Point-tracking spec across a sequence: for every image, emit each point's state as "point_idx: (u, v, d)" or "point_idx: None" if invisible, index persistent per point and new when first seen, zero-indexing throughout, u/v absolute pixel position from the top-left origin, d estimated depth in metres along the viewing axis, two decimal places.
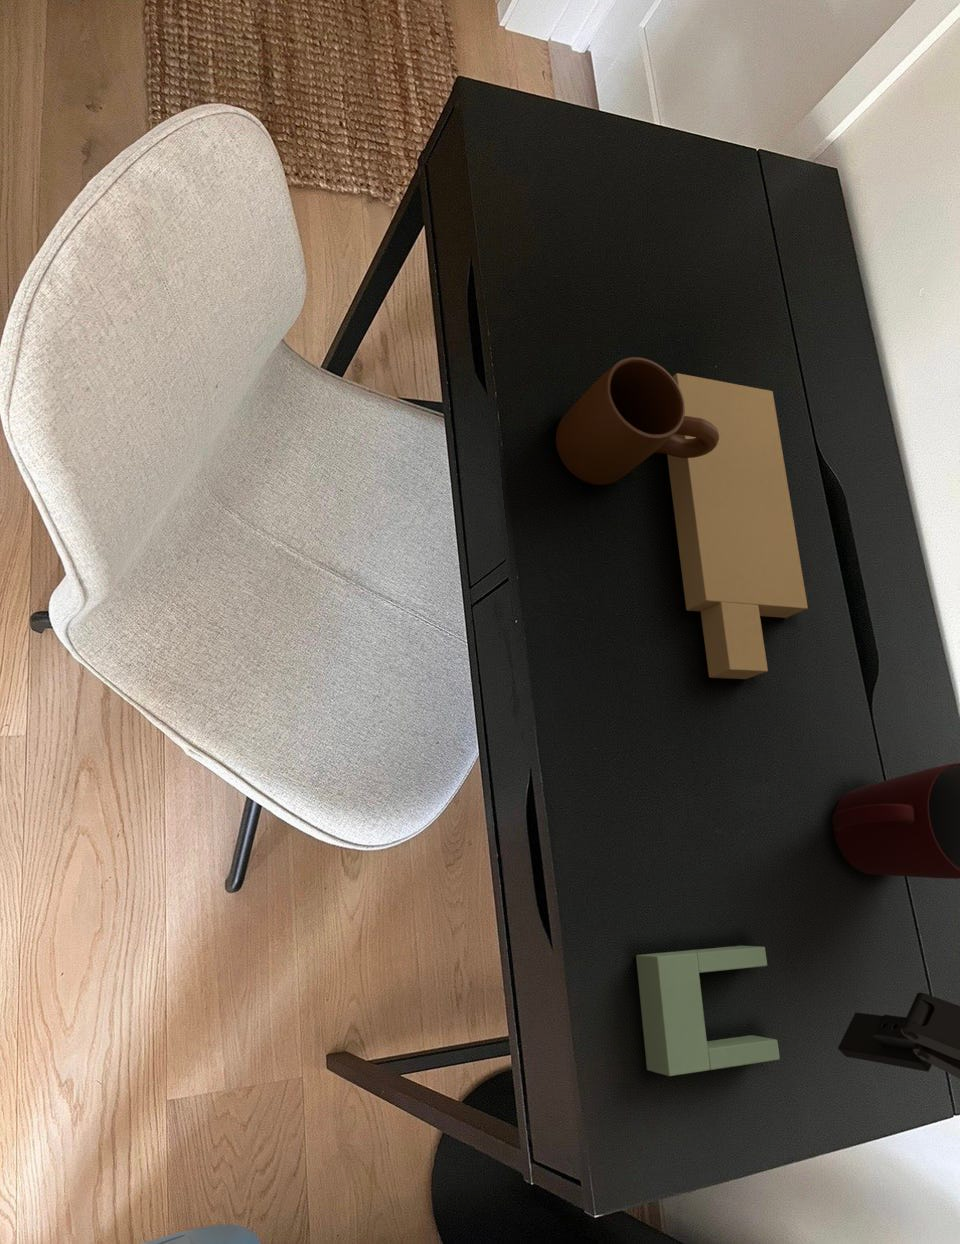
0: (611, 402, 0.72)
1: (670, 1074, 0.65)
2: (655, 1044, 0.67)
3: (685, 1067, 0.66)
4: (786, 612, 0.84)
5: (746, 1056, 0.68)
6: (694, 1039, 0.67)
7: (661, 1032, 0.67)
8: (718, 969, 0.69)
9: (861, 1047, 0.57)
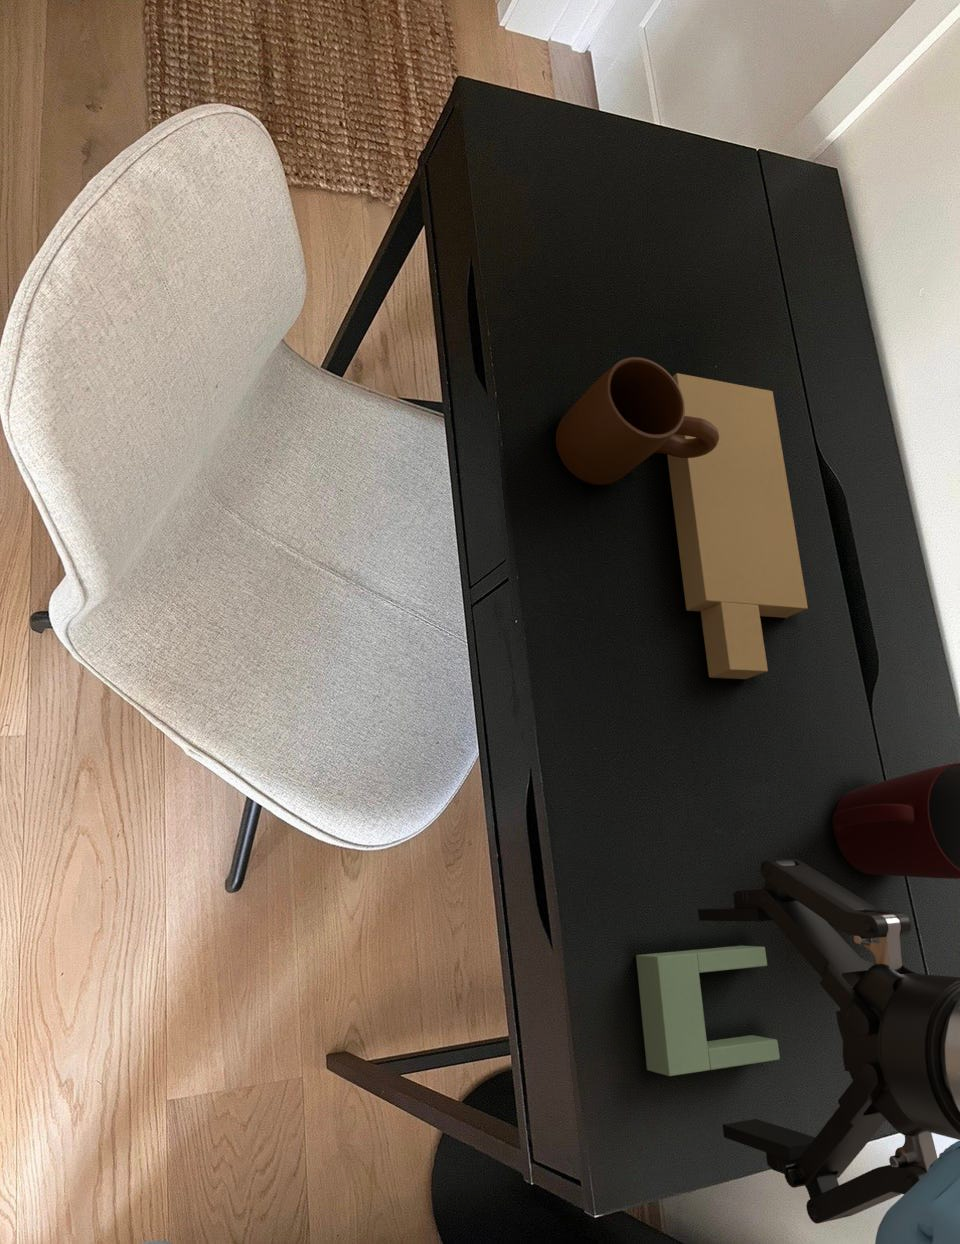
0: (611, 402, 0.72)
1: (670, 1074, 0.65)
2: (655, 1044, 0.67)
3: (685, 1067, 0.66)
4: (786, 612, 0.84)
5: (746, 1056, 0.68)
6: (694, 1039, 0.67)
7: (661, 1032, 0.67)
8: (718, 969, 0.69)
9: (717, 908, 0.63)
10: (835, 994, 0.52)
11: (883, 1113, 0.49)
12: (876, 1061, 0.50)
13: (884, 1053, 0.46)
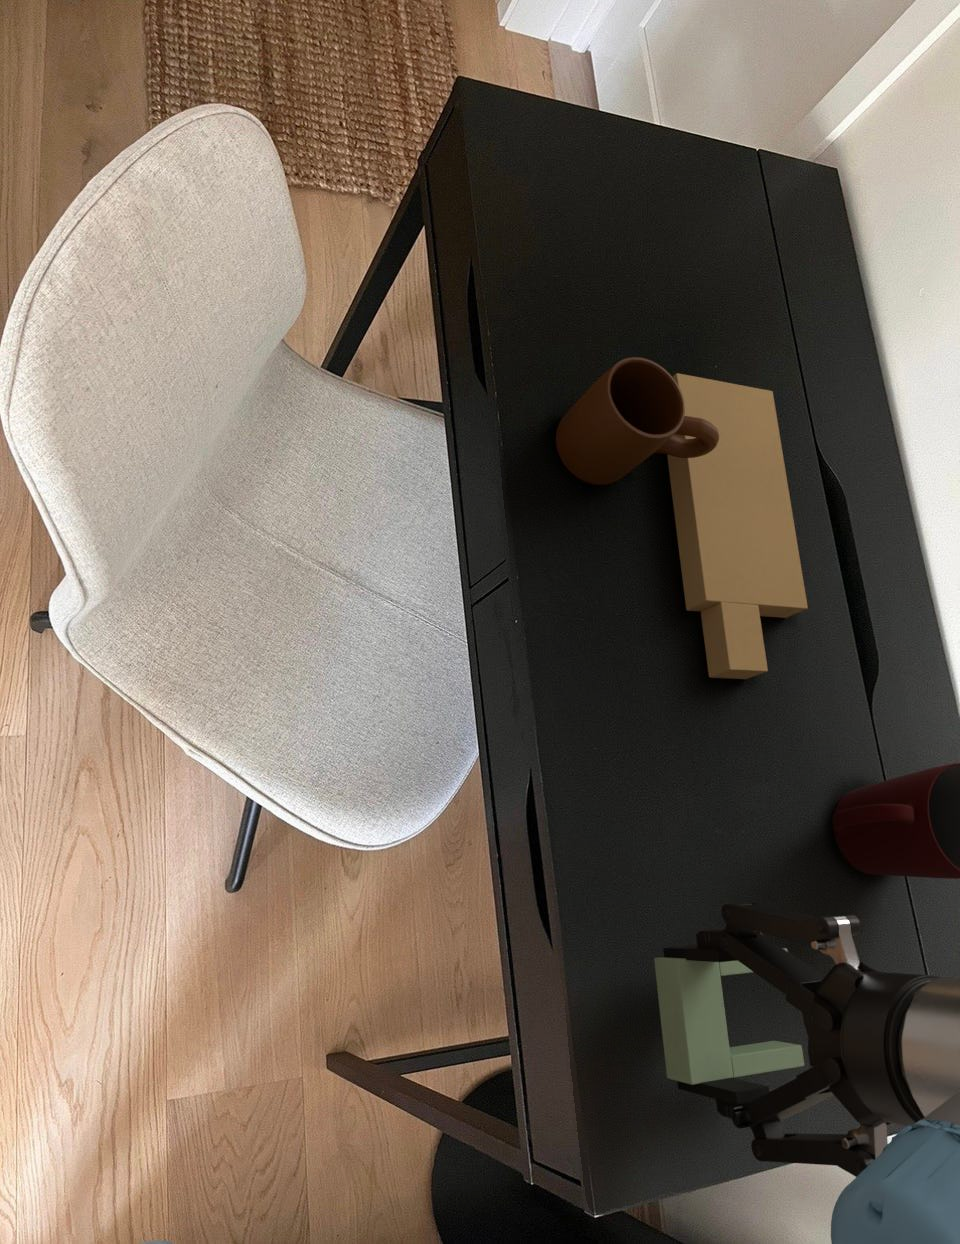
0: (611, 402, 0.72)
1: (692, 1082, 0.62)
2: (676, 1051, 0.64)
3: (707, 1075, 0.63)
4: (786, 612, 0.84)
5: (770, 1062, 0.65)
6: (716, 1045, 0.64)
7: (682, 1038, 0.64)
8: (740, 972, 0.66)
9: (681, 948, 0.66)
10: (799, 1003, 0.54)
11: (846, 1106, 0.51)
12: (841, 1056, 0.52)
13: (846, 1047, 0.48)
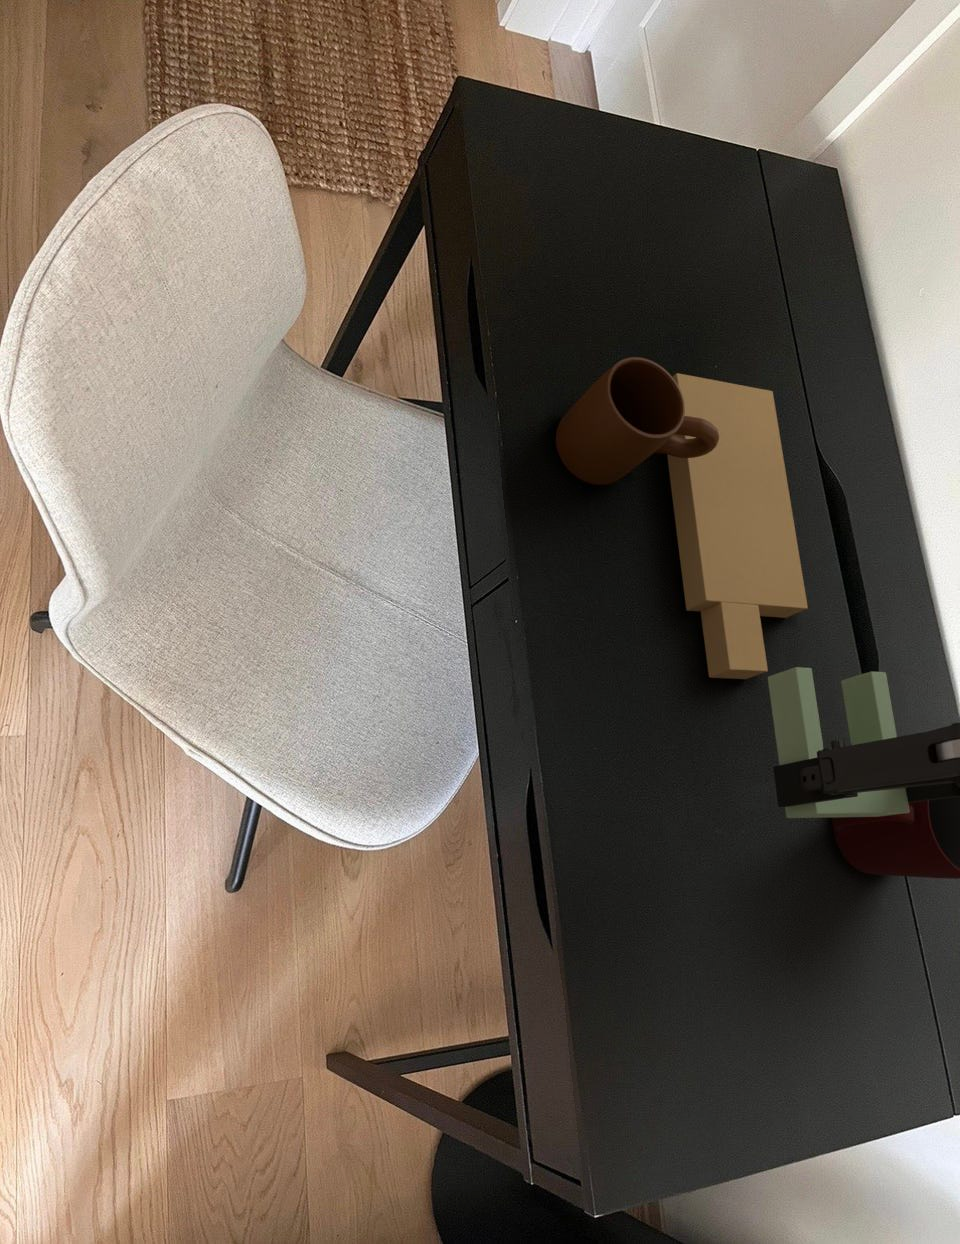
0: (611, 402, 0.72)
1: (908, 811, 0.63)
2: None
3: (902, 792, 0.63)
4: (786, 612, 0.84)
5: (887, 713, 0.64)
6: None
7: (873, 813, 0.62)
8: (820, 734, 0.62)
9: (796, 799, 0.61)
10: None
11: None
12: None
13: None
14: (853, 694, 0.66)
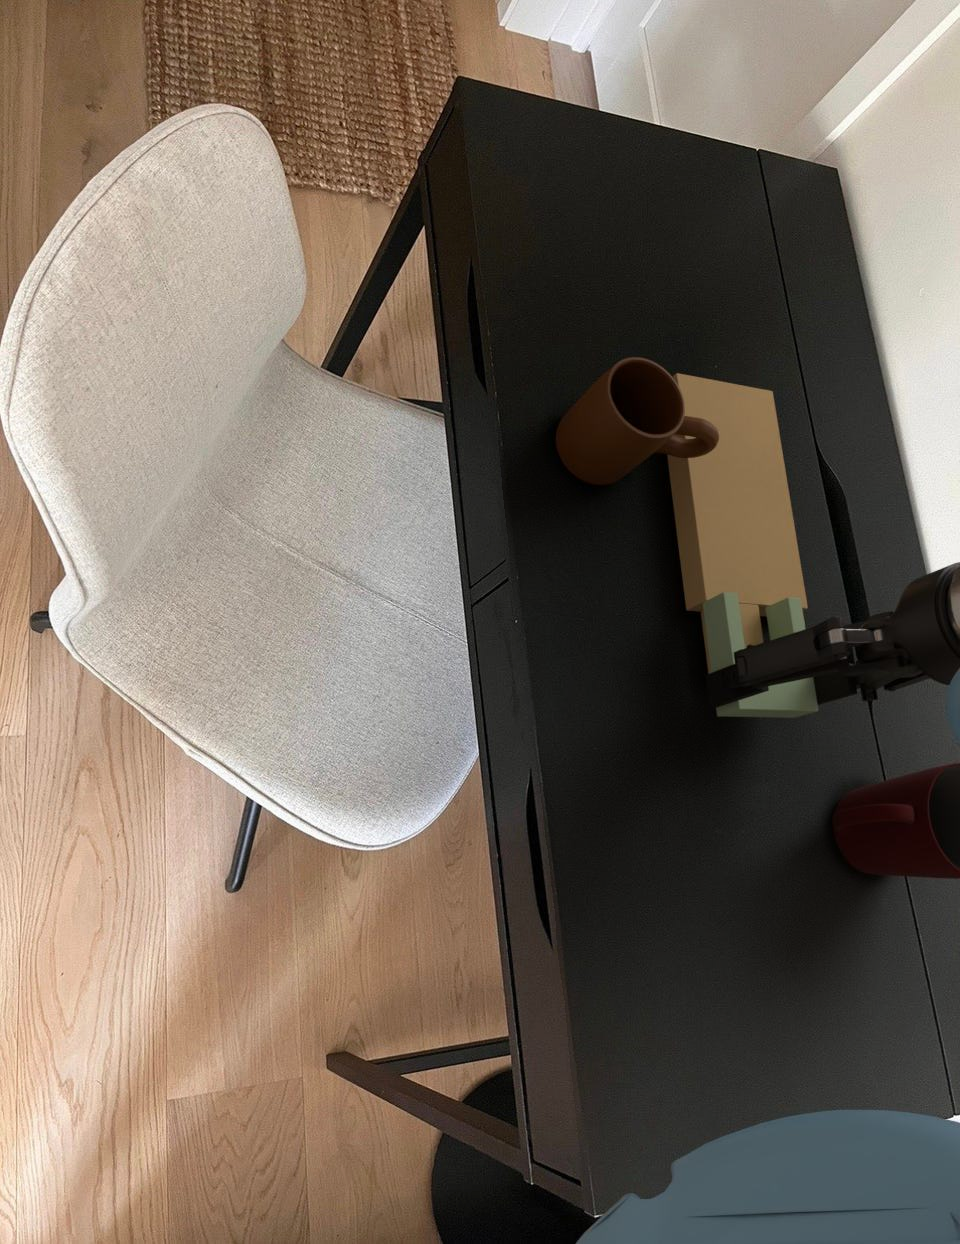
0: (611, 402, 0.72)
1: (817, 709, 0.76)
2: (789, 714, 0.77)
3: (812, 694, 0.76)
4: None
5: None
6: (793, 681, 0.76)
7: (787, 711, 0.75)
8: (743, 646, 0.75)
9: (722, 698, 0.74)
10: (865, 672, 0.64)
11: None
12: None
13: None
14: (774, 617, 0.80)
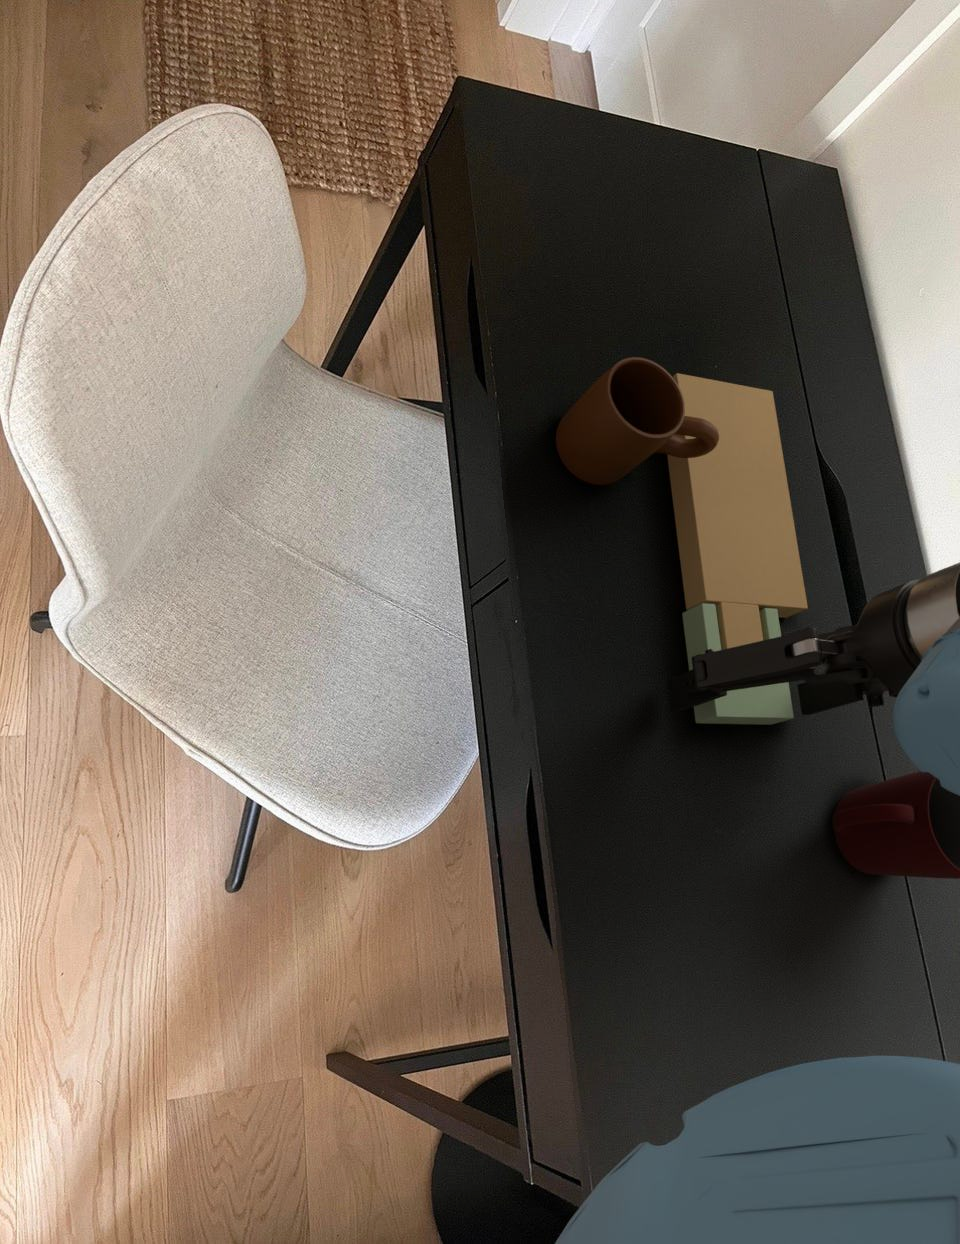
0: (611, 402, 0.72)
1: (793, 717, 0.79)
2: (765, 721, 0.79)
3: (787, 702, 0.79)
4: (786, 612, 0.84)
5: None
6: (769, 689, 0.79)
7: (763, 718, 0.78)
8: None
9: (683, 702, 0.75)
10: (826, 682, 0.66)
11: None
12: None
13: None
14: None
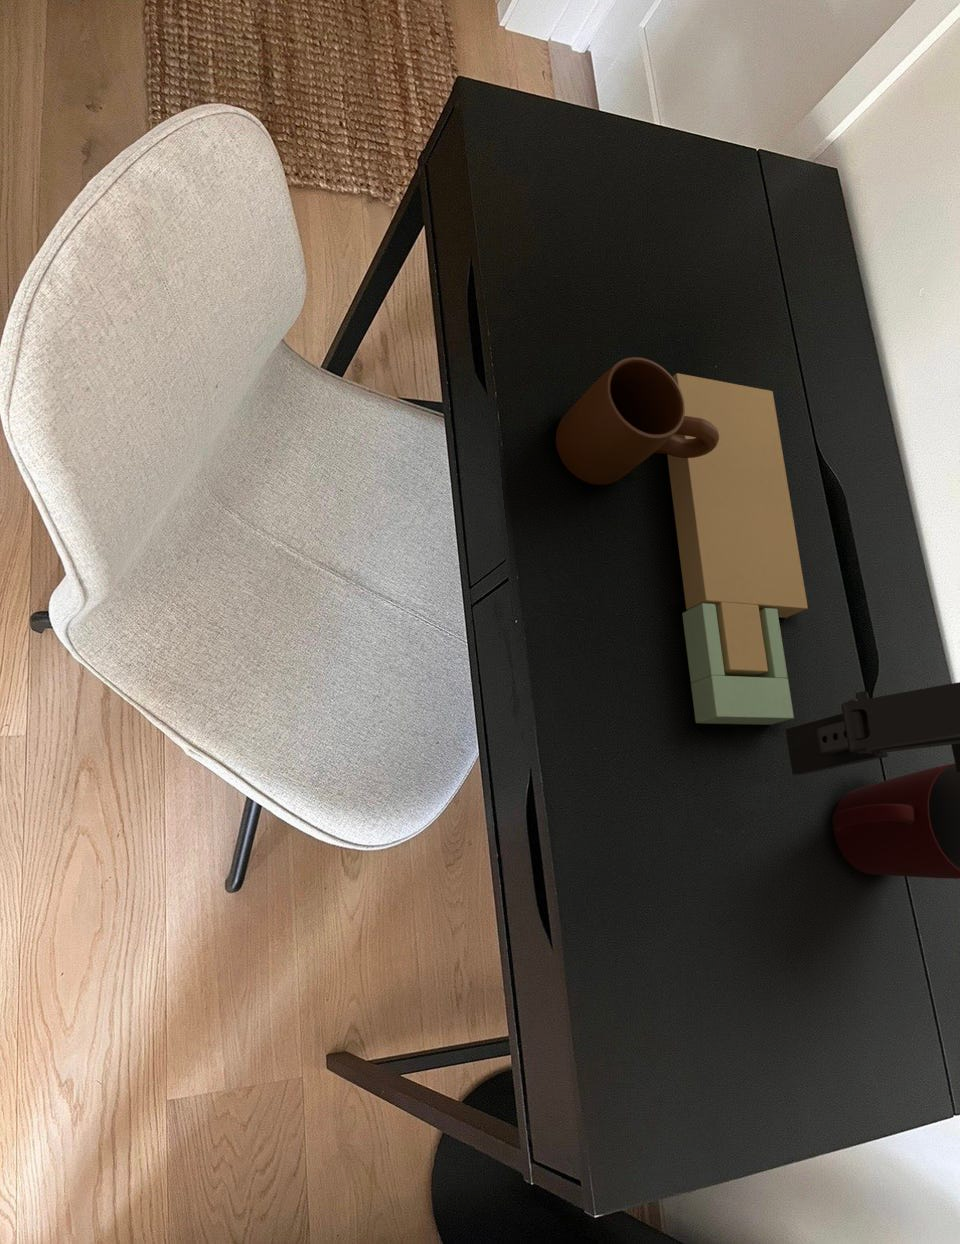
0: (611, 402, 0.72)
1: (793, 717, 0.79)
2: (765, 721, 0.79)
3: (787, 702, 0.79)
4: (786, 612, 0.84)
5: (777, 640, 0.80)
6: (769, 689, 0.79)
7: (763, 718, 0.78)
8: (721, 655, 0.78)
9: (813, 763, 0.53)
10: None
11: None
12: None
13: None
14: None
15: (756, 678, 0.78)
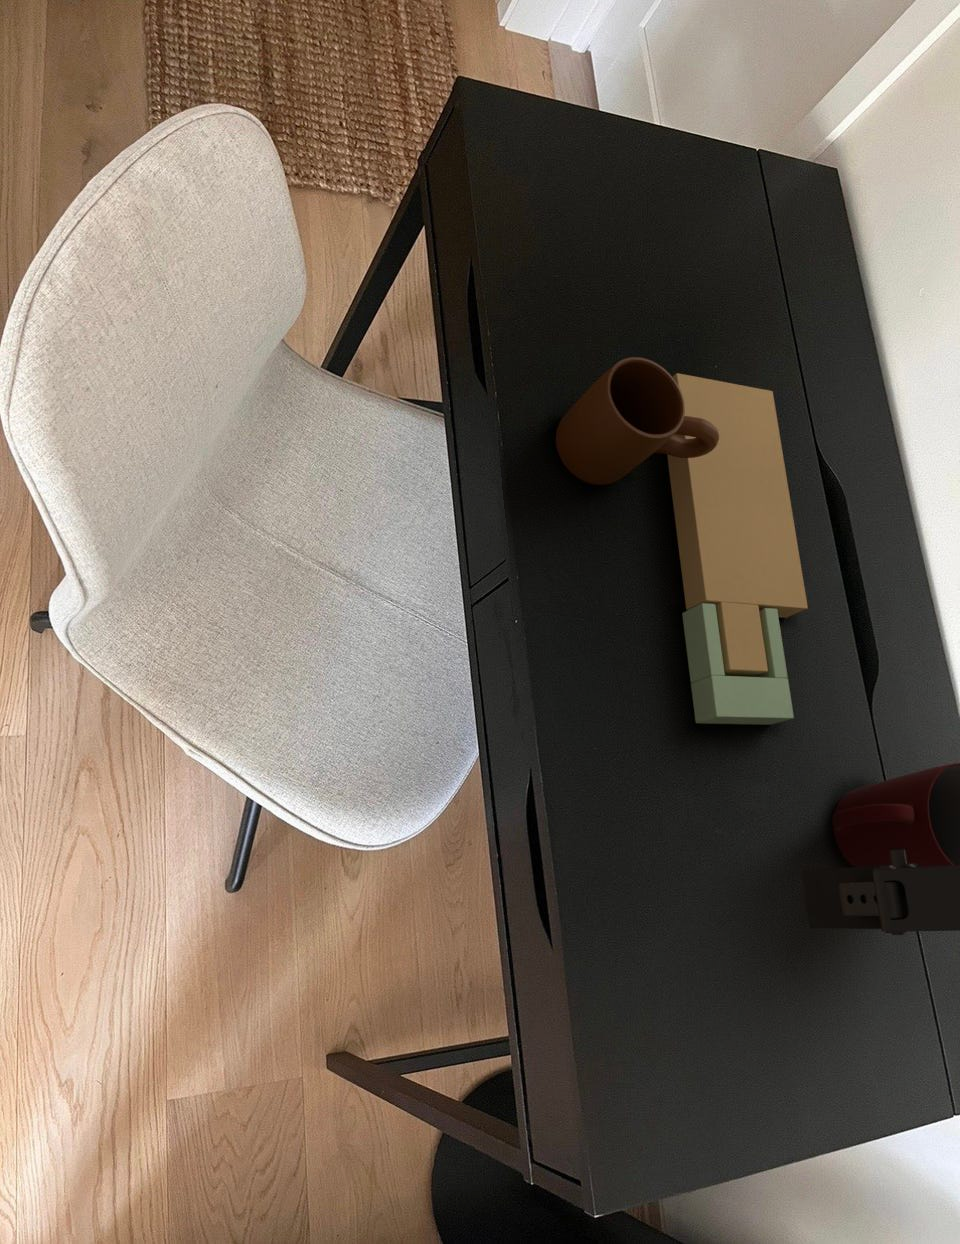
0: (611, 402, 0.72)
1: (793, 717, 0.79)
2: (765, 721, 0.79)
3: (787, 702, 0.79)
4: (786, 612, 0.84)
5: (777, 640, 0.80)
6: (769, 689, 0.79)
7: (763, 718, 0.78)
8: (721, 655, 0.78)
9: (836, 920, 0.43)
10: None
11: None
12: None
13: None
14: None
15: (756, 678, 0.78)
